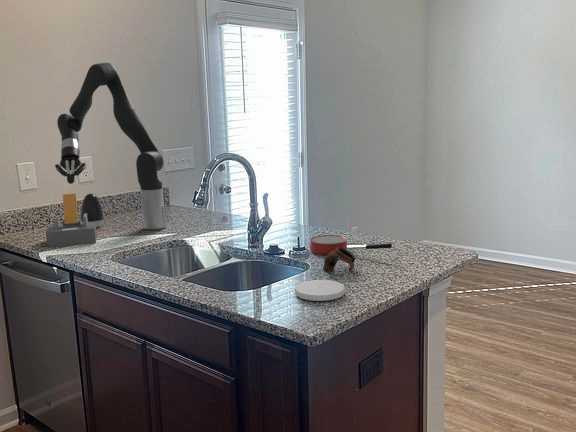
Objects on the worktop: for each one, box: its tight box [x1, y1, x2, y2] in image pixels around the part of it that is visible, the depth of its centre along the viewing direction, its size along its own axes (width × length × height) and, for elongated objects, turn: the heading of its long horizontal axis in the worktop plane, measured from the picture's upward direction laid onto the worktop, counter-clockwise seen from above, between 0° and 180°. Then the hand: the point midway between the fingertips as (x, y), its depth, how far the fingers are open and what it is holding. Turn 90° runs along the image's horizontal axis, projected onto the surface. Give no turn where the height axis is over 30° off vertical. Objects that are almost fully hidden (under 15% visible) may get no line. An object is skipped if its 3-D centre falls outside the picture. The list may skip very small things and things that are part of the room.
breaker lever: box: [62, 193, 81, 226], centre depth 246 cm, size 6×2×13 cm, turn 105°
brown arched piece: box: [322, 248, 356, 273], centre depth 194 cm, size 12×10×8 cm
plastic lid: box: [294, 279, 346, 302], centre depth 172 cm, size 14×14×2 cm
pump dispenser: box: [80, 193, 105, 229], centre depth 269 cm, size 10×10×15 cm
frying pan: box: [310, 234, 393, 256], centre depth 213 cm, size 32×13×6 cm, turn 56°
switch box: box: [45, 213, 98, 248], centre depth 244 cm, size 18×13×10 cm
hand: (70, 182), depth 256 cm, fingers closed
